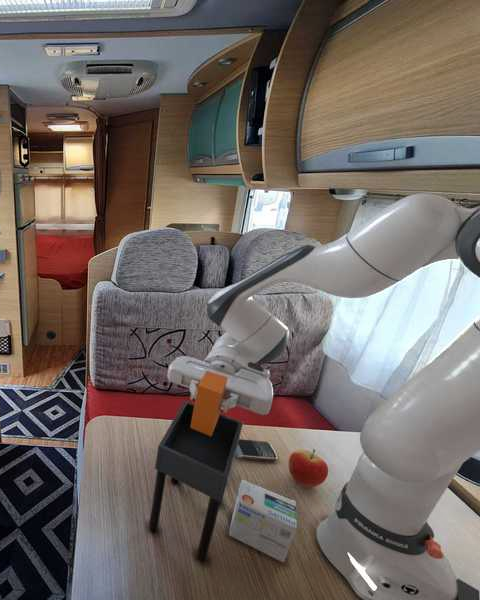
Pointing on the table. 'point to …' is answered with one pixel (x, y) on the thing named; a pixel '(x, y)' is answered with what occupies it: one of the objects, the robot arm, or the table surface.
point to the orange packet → (208, 402)
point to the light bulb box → (264, 520)
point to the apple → (307, 468)
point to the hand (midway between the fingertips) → (208, 403)
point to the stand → (208, 523)
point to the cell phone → (255, 450)
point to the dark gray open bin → (199, 452)
